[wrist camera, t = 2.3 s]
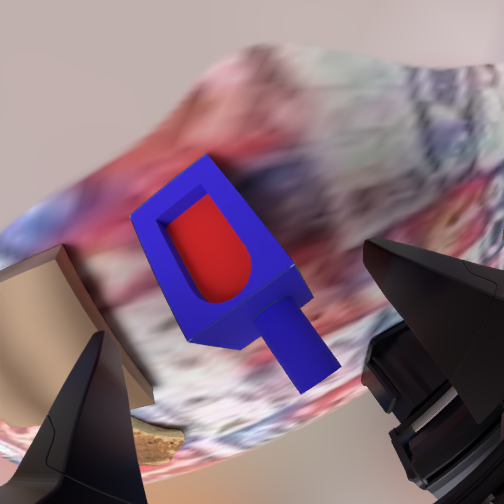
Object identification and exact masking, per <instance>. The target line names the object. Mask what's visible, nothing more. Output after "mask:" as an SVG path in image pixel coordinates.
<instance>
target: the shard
mask: <svg viewBox="0 0 504 504" xmlns="http://www.w3.org/2000/svg"><path fill="white" fill-rule="evenodd" d="M131 421H132V428H133V434H134V440H135V446H136V452H137V457H138V463H139V466H159V465H161V464H163V463H166V462H169V461H171V459H172V458H173V457H174V454H175V453H176V452H177V450H178V448H179V447H180V446H181V445H182V444H183V443H184V441H185V439H184V433H183V432H181V430H178V429H164V428H160V427H156V426H153V425H150V424H148V423H145V422H143V421H141V420H138V419H136V418H134V417H131Z"/></svg>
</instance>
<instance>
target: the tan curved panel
mask: <svg viewBox="0 0 504 504" xmlns="http://www.w3.org/2000/svg"><path fill="white" fill-rule="evenodd" d="M101 330H106V331H107V332H108V333H109V334H110V336H111V337H112V339H113V340H114V342H115V343H116V345H117V346H118V348H119V351H120V356H121V361H122V366H123V371H124V376H125V381H126V386H127V391H128V397H129V405H130V410H131V409H136V408H140V407H144V406H148V405H152V404H155V402H154V395H153V388H152V386H151V385H150V384H149V382H148V381H147V380H146V379H145V377H144V376H143V375H142V373H141V372H140V371H139V369H138V368H137V367H136V365H135V364H134V363H133V361H132V360H131V358H130V357H129V356H128V354H127V353H126V351H125V350H124V348H123V347H122V346H121V344H120V343H119V341H118V340H117V338H116V337H115V335H114V334H113V332H112V331H111V329H110V328H109V326H108V325H107V323H106V322H105V320H104V318H103V317H102V315H101V314H100V312H99V310H98V309H97V307H96V305H95V304H94V302H93V300H92V299H91V297H90V295H89V294H88V292H87V290H86V288H85V287H84V285H83V283H82V281H81V280H80V278H79V276H78V274H77V272H76V270H75V268H74V267H73V265H72V263H71V261H70V259H69V257H68V255H67V253H66V251H65V249H64V247H63V245H62V244H61V245H58V246H56V247H54V248H51V249H49V250H46V251H44V252H42V253H39V254H37V255H35V256H32V257H30V258H28V259H26V260H23V261H21V262H19V263H17V264H14V265H12V266H10V267H8V268H6V269H3V270H1V271H0V419H1V420H2V421H3V422H5V423H6V424H7V425H8V426H10V427H11V428H18V427H29V426H39V425H42V423H43V421H44V419H45V417H46V415H48V412H49V410H50V408H51V406H52V404H53V402H54V400H55V398H56V397H57V395H58V393H59V391H60V389H61V387H62V386H63V384H64V382H65V380H66V379H67V377H68V375H69V373H70V372H71V370H72V368H73V366H74V365H75V363H76V361H77V360H78V358H79V356H80V355H81V353H82V351H83V350H84V348H85V346H86V345H87V343H88V341H89V340H90V338H91V337H92V335H93V334H94V333H95V332H97V331H101Z"/></svg>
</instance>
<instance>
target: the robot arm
mask: <svg viewBox="0 0 504 504" xmlns="http://www.w3.org/2000/svg"><path fill="white" fill-rule="evenodd" d="M363 263H364V265H365V267H366V268H367V270H368V271H369V273H370V274H371V276H372V277H373V279H374V280H375V282H376V283H377V285H378V286H379V288H380V289H381V291H382V292H383V294H384V295H385V297H386V298H387V299H388V301H389V302H390V303H391V304H392V306H393V307H394V308H395V309H396V311H397V312H398V313H399V314H400V316H401V317H402V318H403V319H404V321H405V322H403V323H402V324H400V325H398V326H396V327H395V328H393V329H391V330H389V331H388V332H386V333H384V334H382V335H380V336H378V337H377V338H375V339H373V340H372V341H371V343H370V344H369V349H368V354H367V359H366V363H365V368H364V372H363V376H362V381H361V383H362V384H363V386H367V387H368V389H369V390H370V391H371V393H372V394H373V396H374V397H375V398H376V400H377V401H378V403H379V404H380V405H381V407H382V408H383V410H384V411H385V412H386V413H388V414H390V413H391V412H393V413H394V415H395V416H396V418H397V419H398V420H399V422H400V423H401V424H400V425H399V426H398V427H396V428H394V429H393V430H391V431H390V432H389V435H390V437H391V439H392V440H391V442H392V444H393V446H394V448H395V450H396V452H397V454H398V456H399V458H400V461H401V463H402V465H403V467H404V469H405V471H406V474H407V478H408V480H409V481H412V482H414V483H415V484H416V485H417V486H418V487H420V488H421V489H423V490H428V491H429V492H431V493H432V494H433V495H434V496H435V497H436V498H437V499H438V500H437V501H436V502H435V503H434V504H504V270H500V269H495V268H491V267H487V266H483V265H479V264H475V263H472V262H468V261H465V260H460V259H458V258H454V257H451V256H447V255H443V254H440V253H436V252H432V251H429V250H425V249H421V248H417V247H414V246H410V245H406V244H402V243H398V242H394V241H390V240H386V239H382V238H378V237H372V238H369V239H366V240H365V241H364V246H363ZM456 392H457V393H458V395H457V396H456V397H455V398H454V399H453V400H452V401H451V402H450V403H449V404H448V405H447V406H445V407H444V408H443V409H442V410H441V411H440V412H439V413H438V414H437V415H436V416H435V417H434V418H432V419H431V420H430V421H429V422H428V423H427V424H426V425H425V426H423V427H422V428H421V429H420V430H419V431H417V432H415V430H416V429H417V428H418V427H419V426H421V425H422V424H423V423H424V422H426V421H427V420H428V419H429V418H430V417H431V416H432V415H433V414H434V413H436V412H437V411H438V410H439V409H440V408H441V407H442V406H443V405H444V404H445V403H446V402H447V401H448V400H449V399H450V398H451V397H452V396H453V395H454V394H455V393H456ZM0 504H148V503H147V499H146V495H145V491H144V486H143V482H142V477H141V473H140V468H139V463H138V457H137V452H136V446H135V440H134V434H133V428H132V421H131V413H130V405H129V397H128V391H127V386H126V381H125V376H124V371H123V366H122V361H121V356H120V351H119V348H118V346H117V345H116V343H115V342H114V340H113V339H112V337H111V336H110V334H109V333H108V332H107V331H106V330H101V331H97V332H95V333H94V334H93V335H92V337H91V338H90V340H89V341H88V343H87V345H86V346H85V348H84V350H83V351H82V353H81V355H80V356H79V358H78V360H77V361H76V363H75V365H74V366H73V368H72V370H71V372H70V373H69V375H68V377H67V379H66V380H65V382H64V384H63V386H62V387H61V389H60V391H59V393H58V395H57V397H56V398H55V400H54V402H53V404H52V406H51V408H50V410H49V412H48V415H46V417H45V419H44V421H43V423H42V425H41V427H40V429H39V431H38V433H37V435H36V436H35V438H34V440H33V442H32V444H31V445H30V447H29V449H28V450H27V452H26V454H25V456H24V457H23V459H22V461H21V463H20V464H19V466H18V468H17V470H16V472H15V473H14V475H13V477H12V478H11V479H10V480H9V481H8V482H7V483H6V484H4V485H2V486H0Z"/></svg>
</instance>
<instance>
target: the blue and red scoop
mask: <svg viewBox="0 0 504 504" xmlns="http://www.w3.org/2000/svg"><path fill="white" fill-rule="evenodd" d="M130 219H131V221H132V224H133V226H134V229H135V231H136V234H137V236H138V238H139V241H140V243H141V246H142V248H143V250H144V253H145V255H146V257H147V259H148V262H149V264H150V266H151V268H152V271H153V273H154V275H155V277H156V279H157V282H158V284H159V286H160V288H161V290H162V292H163V294H164V296H165V298H166V301H167V303H168V305H169V307H170V309H171V311H172V313H173V315H174V317H175V319H176V321H177V323H178V325H179V327H180V329H181V331H182V332H183V334H184V336H185V338H186V340H187V342H190V343H196V344H202V345H208V346H214V347H221V348H228V349H235V350H241V349H243V348H244V347H246V346H247V345H249V344H250V343H251V342H253V341H254V340H256V339H257V338H259V337H260V336H262V338H263V339H264V341H265V342H266V344H267V345H268V347H269V348H270V350H271V351H272V353H273V354H274V356H275V357H276V359H277V360H278V362H279V363H280V365H281V366H282V368H283V369H284V371H285V372H286V374H287V375H288V377H289V378H290V379H291V381H292V382H293V384H294V385H295V387H296V388H297V390H298V391H299V393H300V394H303V393H304V392H306V391H307V390H309V389H310V388H312V387H314V386H315V385H317V384H318V383H319V382H321V381H322V380H324V379H325V378H327V377H328V376H330V375H331V374H332V373H334V372H335V371H337V370H338V369H339V368H341V367H342V366H341V365H340V363H339V362H338V361H337V359H336V358H335V356H334V355H333V354H332V352H331V351H330V350H329V348H328V347H327V345H326V344H325V343H324V341H323V340H322V338H321V337H320V336H319V334H318V333H317V332H316V330H315V329H314V327H313V326H312V325H311V323H310V322H309V320H308V319H307V318H306V316H305V315H304V314H303V312H302V311H301V309H300V308H301V307H302V306H303V305H305V304H306V303H307V302H309V301H310V300H311V299H313V298H314V297H313V295H312V293H311V291H310V290H309V288H308V286H307V284H306V282H305V281H304V279H303V277H302V275H301V274H300V272H299V270H298V268H297V266H296V265H295V263H294V262H293V261H292V259H291V258H290V257H289V256H288V254H287V253H286V252H285V250H284V249H283V248H282V247H281V245H280V244H279V243H278V241H277V240H276V239H275V238H274V236H273V235H272V234H271V233H270V231H269V230H268V229H267V228H266V226H265V225H264V224H263V222H262V221H261V220H260V219H259V217H258V216H257V215H256V214H255V212H254V211H253V210H252V209H251V207H250V206H249V205H248V204H247V202H246V201H245V200H244V199H243V197H242V196H241V195H240V194H239V193H238V191H237V190H236V189H235V188H234V186H233V185H232V184H231V183H230V181H229V180H228V179H227V178H226V176H225V175H224V174H223V173H222V172H221V170H220V169H219V168H218V167H217V165H216V164H215V163H214V162H213V161H212V159H211V158H210V157H209V156H208V155H207V153H206V154H205V155H204V156H202V157H201V158H200V159H198V160H197V161H196V162H194V163H193V164H192V165H190V166H189V167H188V168H186V169H185V170H184V171H183V172H181V173H180V174H179V175H178V176H176V177H175V178H174V179H172V180H171V181H170V182H169V183H168V184H166V185H165V186H164V187H163V188H161V189H160V190H159V191H158V192H157V193H155V194H154V195H153V196H152V197H151V198H149V199H148V200H147V201H146V202H145V203H144V204H142V205H141V206H140V207H139V208H138V209H137V210H135V211H134V212H133V213H132V214H131V215H130Z"/></svg>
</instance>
